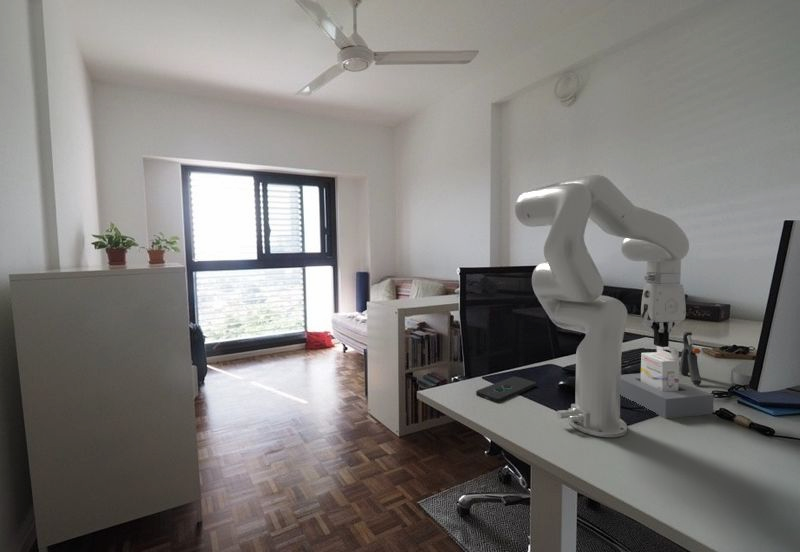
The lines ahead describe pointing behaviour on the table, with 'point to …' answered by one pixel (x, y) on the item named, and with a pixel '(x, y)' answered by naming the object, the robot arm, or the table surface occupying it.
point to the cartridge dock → (667, 398)
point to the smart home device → (505, 389)
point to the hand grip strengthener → (690, 359)
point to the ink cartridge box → (661, 369)
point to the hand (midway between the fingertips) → (660, 345)
